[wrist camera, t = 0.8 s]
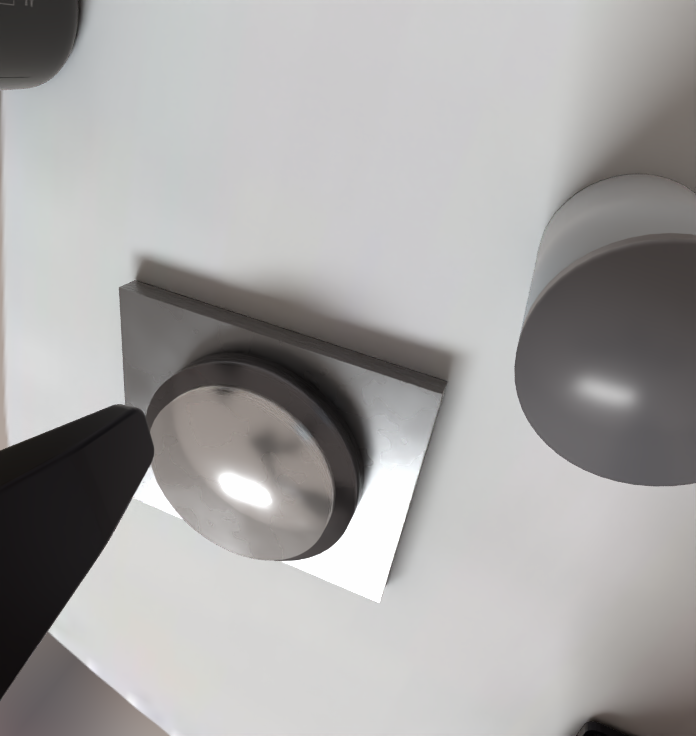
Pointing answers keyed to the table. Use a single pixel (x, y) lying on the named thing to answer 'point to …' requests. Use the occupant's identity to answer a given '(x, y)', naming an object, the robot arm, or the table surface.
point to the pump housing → (616, 332)
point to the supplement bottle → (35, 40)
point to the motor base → (336, 372)
